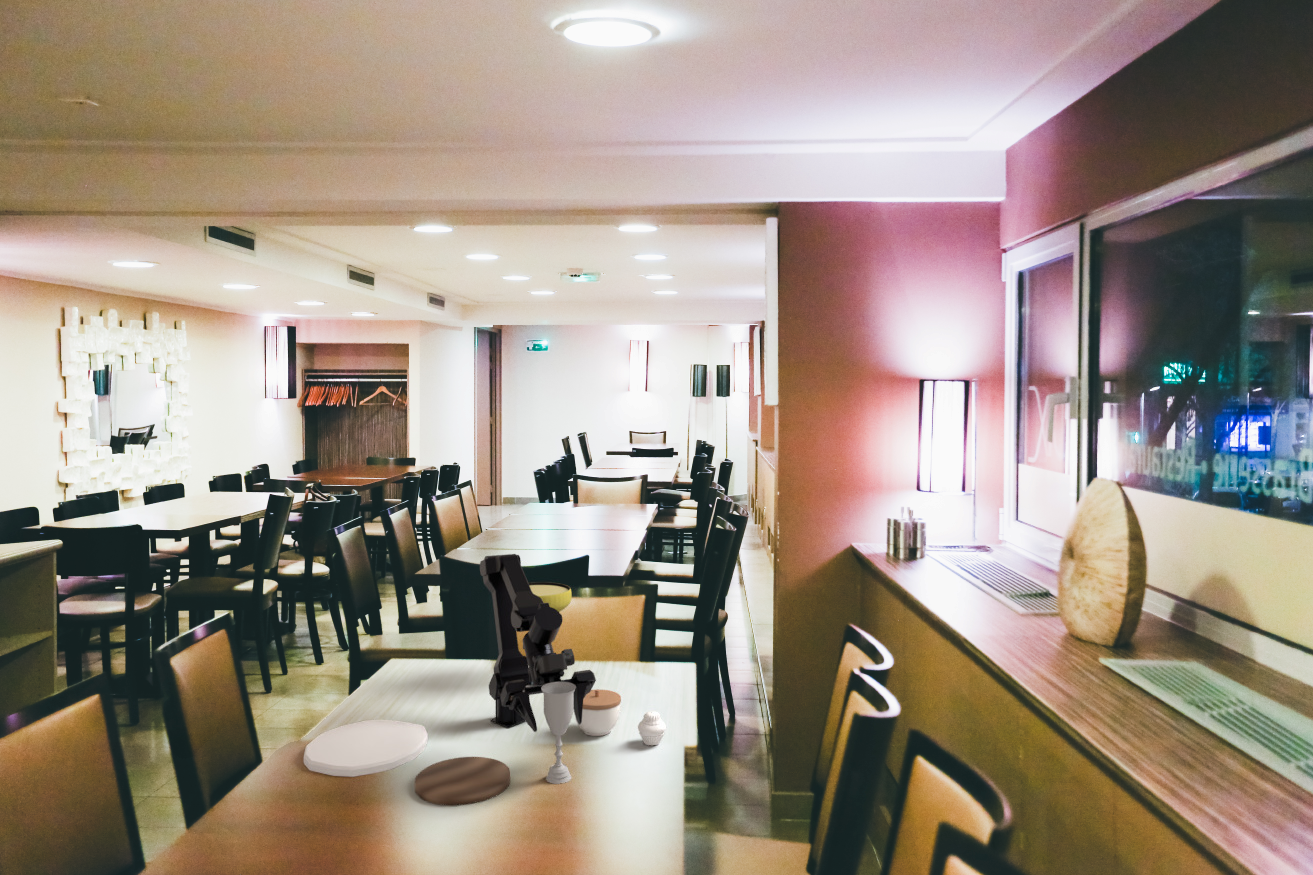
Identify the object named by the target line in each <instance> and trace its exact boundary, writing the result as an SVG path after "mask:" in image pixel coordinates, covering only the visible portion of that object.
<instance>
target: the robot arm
mask: <svg viewBox="0 0 1313 875" xmlns="http://www.w3.org/2000/svg"><path fill="white" fill-rule="evenodd" d="M521 561H522V560H521V556H520V555H519V554H516V553H508V554H507V553H506V554H497V555H494V554H493V555H486V556H484V558H483V559H482V560H481V561H480V562H479V571H480V576H482V581H483V584H484V586H485V587H486V589H488V592H490V593H491V598H492V606H493V607H492V608H493V613H494V623H495V631H496V640H497V646H498V647H497V649H498V657H497V659H496V662H495V663H494V665H493V674H492V676H491V679H490V681H489V683H488V692H489V696H491V698H492V699H493V700H494V701H495V717H493V718H490V722H491V723H493V724H496V725H500V726H502V727H506V728H512V727H514V726H515V727H516V726H517V725H519V724H522V723H524V722H526V723H527V725H528V726H529V728H530V729H531V730H532V731H533V733H537V731H538V726H537V721H536V717H535V715H534V714H535V713H534V712H533V708H532V705H531V701H530V696H533V695H539V694H543V692H542V689H541V688H542V686H543V685H545V684H548V683H552V682H569V683H572V684H574V685H575V686H576V688H575V691H574V712H575V714H574V717H575V716H576V719H577V722H578V724H581V722H582V711H583V699H584V697H585V696H586V694H588V693H590V691H591V690H593V687H594V685H595V683H596V682H597V679H596V676H595V673H594V672H593V671H592V670H591V669H584V670H577V671H574V672H573V674H572V676H571V678H569V679H562V677H564V676H565V671H566V670H567V671H568V667H570V666H573V665H575V663H576V660H575V655H574V651H573V649H572V648H567V649H562V650H561V653H557V652H554V648H553V644H552V643H553V642H554V641H555V640H556V639H557V638H556V637H557V635H558V632H559V631H560V628H561V626H562V624H563V616H562V615H563V614H561V613H560V612H558V611H557V610H556V609H554V608H552V607H550V606H549V603H544V602H543V600H542V599H541V598H540V597H538V596H537V595H535V594H533V592H532V591H531V588H530V586H529V583H530V582H528V579H527V577H526V576H527V575H526V574H525V572H524V569H523V567H522V563H521ZM522 632H526V633H525V634H524V636H523V638H522V640H521V641H522V650H524V653H525V655H523V654H522V652H521V651H520V649H519V642H518V641H519V640H518V635H517V634H518V633H522ZM532 683H533V684H532ZM531 684H532V685H531ZM574 712H573V713H574ZM576 719H575V720H576ZM577 722H576V723H577ZM578 724H577V725H578Z"/></svg>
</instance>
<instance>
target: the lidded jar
mask: <svg viewBox="0 0 1313 875" xmlns="http://www.w3.org/2000/svg"><path fill="white" fill-rule="evenodd" d="M621 703H622V696H621V695H620V694H619V693H618V692H616V691H613V690H608V689H600V688H599V689H597V688H596V689H591V691H590V693H588V694H586V696H585V697H584V699H583V711H582V722H581V724H578V722H577V719H576V716H575V712H573V714H574V717H575V721H576V724H577V726H578V727H579V728H580V729H581V730H582V731H583V733H584V734H585V735H587V736H590V737H591V736H592V737H602V736H605V735H609V734H610V733H611V730H613V729H614V727H616V725H617V723H618V721H619V719H620V715H621Z"/></svg>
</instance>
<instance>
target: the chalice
mask: <svg viewBox="0 0 1313 875" xmlns="http://www.w3.org/2000/svg"><path fill="white" fill-rule="evenodd" d="M575 688H576V686H575V685H574V684H572V683H569V682H552V683H548V684H545V685H543V686H542V688H541V689H542V692H543V693H542V694H543V714H544V717H545V721H546V723H547V726H548V728H549V730H550V733H551V734H552V735H554V736H555V737H556V740H555V743H554V746H555V749H556V750H555V752H554V754H553V755H554V756H555V759H556V760H555V763H554V764H552V765H550V767H549V769H548V772H547V776H546V778H545V781H546V780H547V781H546V782H548V783H550V784H554V785H555V784H556V785H560V783H562V784H566V783H568V782H570V781H571V780H572V775H571V774H570V771H569V767H568V766H567V765H566V764H565V763H564V764H563V762H562V756H563V755H564V753H563V752H562V747H563V744H564V743H563V742H562V736H563V735H565V733H567V730H568V728H569V725H570V723H571V721H572V718H573V714H574V691H575ZM565 782H566V783H565Z"/></svg>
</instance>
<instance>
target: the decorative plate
mask: <svg viewBox="0 0 1313 875" xmlns="http://www.w3.org/2000/svg"><path fill="white" fill-rule="evenodd" d="M428 737H429V734H428V732H427V729H426V728H425V726H424V725H422V724H417V723H416V724H415V723H411V722H407V721H406V722H404V721H399V720H393V719H392V720H391V719H386V718H385V719H383V718H382V719H366V720H362V721H357V722H351V723H349V724H344V725H340V726H338V727H336V728H333V729H332V728H331V729H330V730H326V731H324V732H322V733H320V734H319V735H318V736H316V737H315V738H314V739H313V740H312V741H310V742H309V743H308V744H306V746H305V749H304V753H303V764H304V766H306V768H307V769H308V770H309V771H310V772H316V773H320V774H324V775H327V776H328V775H329V776H334V777H347V778H349V777H351V778H355V777H360V776H367V775H373V774H376V773H380V772H382V773H383V772H385V771H389V770H393V769H395V768H398V767H400V766H401V765H404V764H407V763H408V762H411V761H413V760H416V758H417V757H418V756H419V755H420V754H421V753H422V752H424V751H425V749H426V747H427V743H428V740H429V738H428Z"/></svg>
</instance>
